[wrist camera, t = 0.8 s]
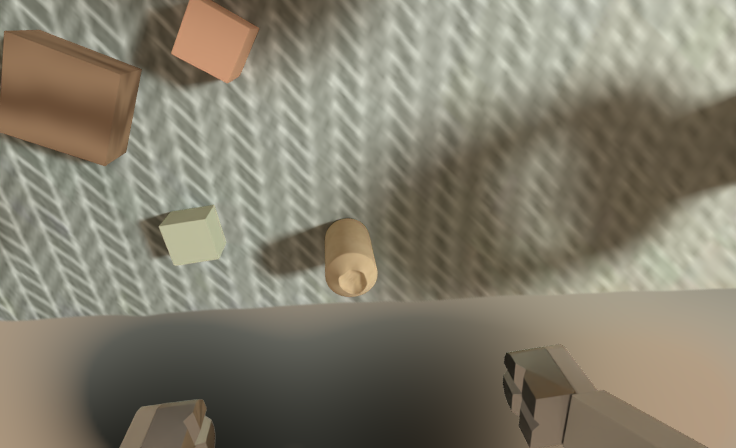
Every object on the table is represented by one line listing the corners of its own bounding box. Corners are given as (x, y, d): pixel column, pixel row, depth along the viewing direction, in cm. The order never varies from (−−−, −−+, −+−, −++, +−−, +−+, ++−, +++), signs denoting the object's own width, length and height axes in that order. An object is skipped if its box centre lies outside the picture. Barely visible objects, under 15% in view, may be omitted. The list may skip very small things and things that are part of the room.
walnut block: (41, 29, 39) (4, 30, 34) (142, 68, 41) (120, 74, 36) (32, 120, 42) (-2, 131, 37) (126, 151, 44) (105, 166, 40)
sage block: (214, 204, 48) (205, 219, 44) (226, 241, 50) (219, 258, 46) (171, 211, 47) (158, 226, 44) (185, 248, 50) (174, 265, 46)
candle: (315, 242, 51) (314, 289, 42) (342, 209, 49) (347, 250, 40) (351, 264, 53) (357, 313, 44) (378, 233, 51) (390, 277, 42)
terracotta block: (209, -1, 39) (191, -5, 33) (259, 28, 40) (249, 28, 35) (191, 49, 40) (170, 53, 35) (239, 75, 42) (227, 83, 36)
